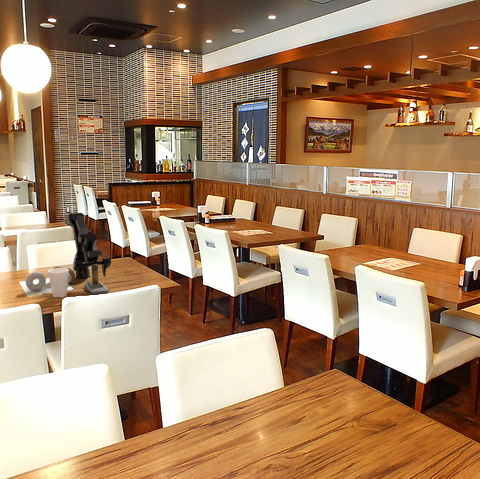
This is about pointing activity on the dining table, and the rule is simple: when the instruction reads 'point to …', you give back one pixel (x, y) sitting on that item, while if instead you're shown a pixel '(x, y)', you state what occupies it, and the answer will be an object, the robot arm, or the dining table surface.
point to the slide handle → (95, 277)
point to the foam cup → (58, 281)
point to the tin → (71, 275)
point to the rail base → (96, 289)
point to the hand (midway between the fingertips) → (95, 277)
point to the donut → (31, 277)
